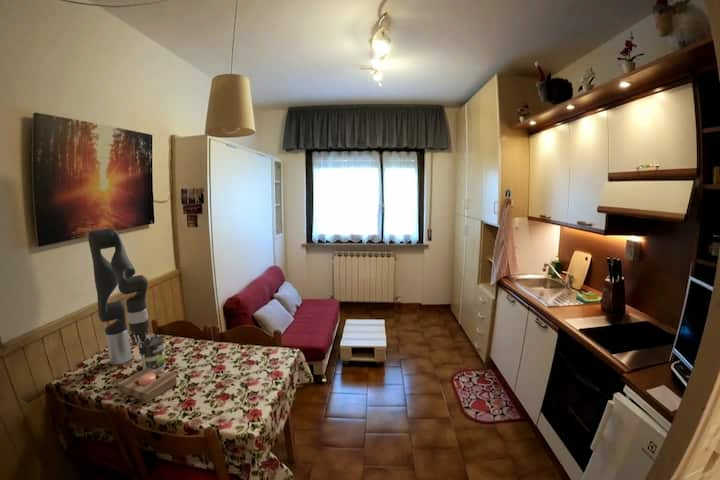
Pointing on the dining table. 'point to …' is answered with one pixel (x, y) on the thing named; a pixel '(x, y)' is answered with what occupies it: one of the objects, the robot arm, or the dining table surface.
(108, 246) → the robot arm
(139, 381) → the pink flattened oval
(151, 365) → the coffee can
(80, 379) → the dining table surface
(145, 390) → the wooden board
